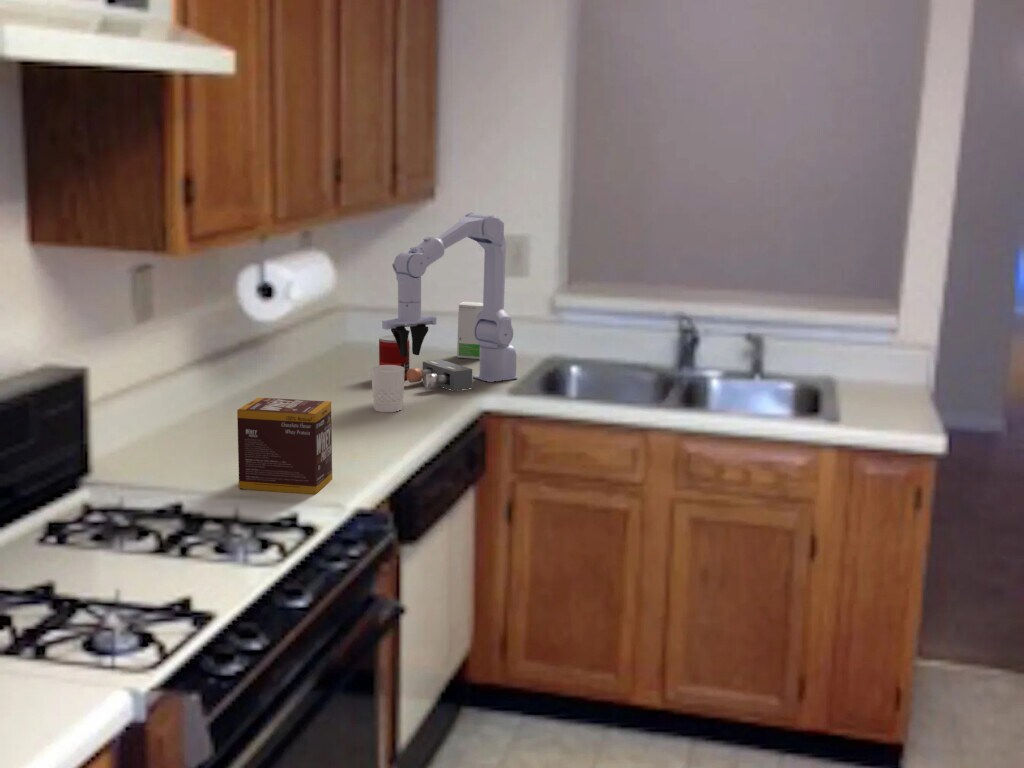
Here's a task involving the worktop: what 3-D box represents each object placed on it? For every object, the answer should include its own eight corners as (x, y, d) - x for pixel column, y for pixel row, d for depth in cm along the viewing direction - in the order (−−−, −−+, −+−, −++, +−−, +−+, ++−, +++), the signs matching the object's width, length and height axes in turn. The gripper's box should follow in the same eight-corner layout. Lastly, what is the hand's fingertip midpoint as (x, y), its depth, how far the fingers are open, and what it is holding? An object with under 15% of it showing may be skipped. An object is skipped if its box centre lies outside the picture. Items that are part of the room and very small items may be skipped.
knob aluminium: (447, 383, 327) (447, 370, 326) (455, 386, 324) (455, 372, 323) (422, 387, 322) (422, 373, 322) (430, 389, 320) (430, 375, 319)
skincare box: (456, 358, 364) (456, 304, 361) (461, 353, 371) (461, 301, 367) (485, 359, 363) (485, 305, 360) (489, 355, 369) (490, 302, 366)
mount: (440, 378, 337) (440, 358, 336) (472, 389, 325) (472, 368, 324) (422, 380, 334) (422, 360, 332) (454, 391, 322) (454, 370, 321)
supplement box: (317, 495, 236) (315, 413, 232) (238, 489, 238) (235, 408, 235) (334, 479, 246) (332, 400, 242) (258, 474, 248) (256, 396, 245)
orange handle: (431, 378, 333) (431, 364, 332) (438, 380, 330) (438, 367, 329) (406, 381, 329) (406, 367, 328) (413, 383, 326) (413, 370, 325)
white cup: (411, 409, 302) (411, 368, 300) (386, 415, 297) (386, 373, 295) (389, 404, 308) (389, 363, 306) (364, 409, 302) (364, 368, 300)
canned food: (408, 382, 332) (407, 340, 330) (377, 381, 332) (377, 340, 330) (410, 375, 340) (410, 335, 337) (381, 375, 340) (380, 334, 338)
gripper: (425, 296, 321) (425, 349, 323) (375, 301, 312) (376, 355, 315) (441, 300, 315) (440, 354, 318) (390, 305, 307) (390, 360, 310)
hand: (409, 355), depth 316 cm, fingers open, 3 cm apart
